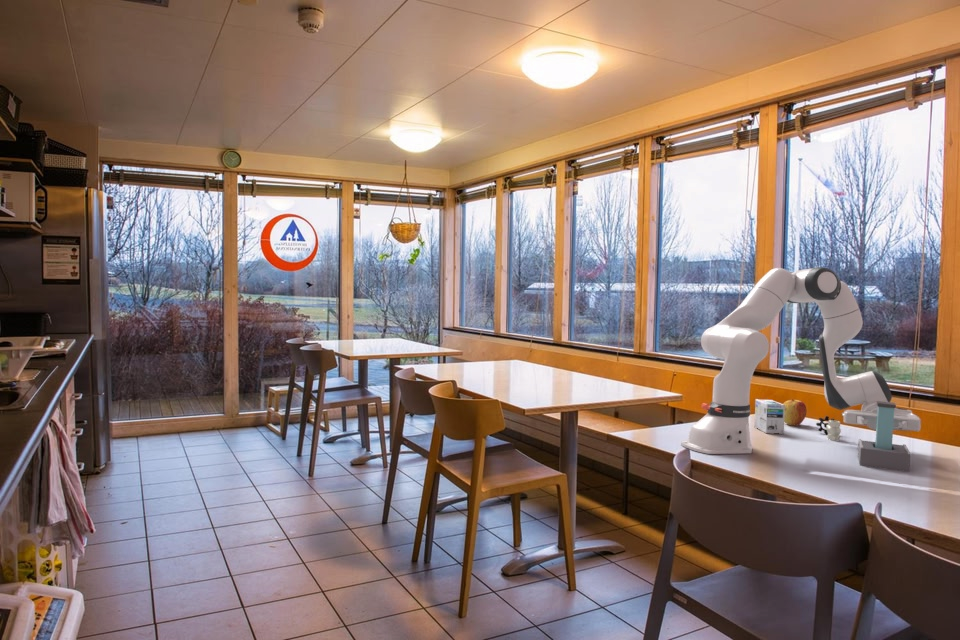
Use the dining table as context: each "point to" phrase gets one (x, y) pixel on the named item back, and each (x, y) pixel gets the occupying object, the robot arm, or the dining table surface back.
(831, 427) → the valve
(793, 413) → the apple
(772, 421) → the light bulb box
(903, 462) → the grey socket base
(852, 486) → the dining table surface
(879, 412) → the plug
